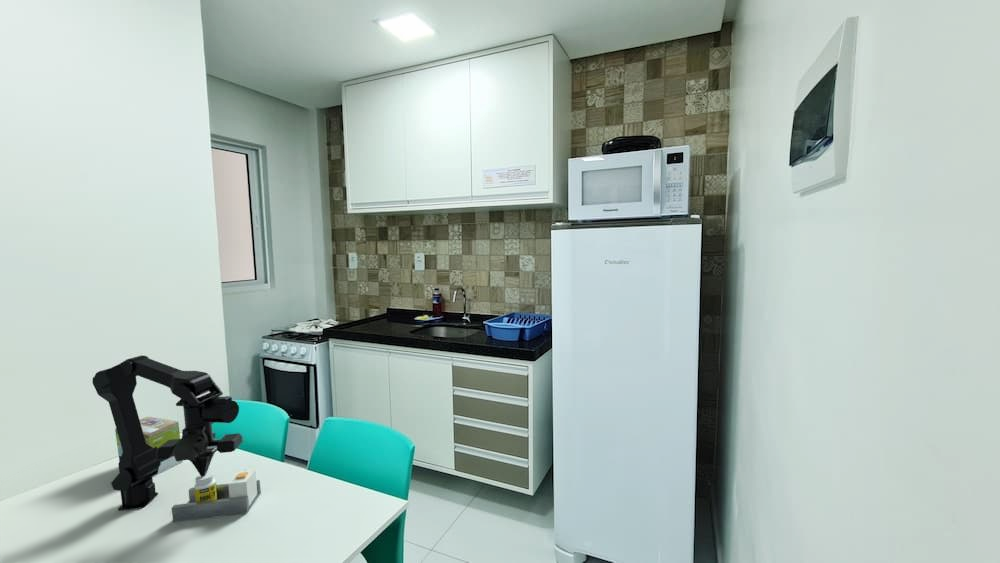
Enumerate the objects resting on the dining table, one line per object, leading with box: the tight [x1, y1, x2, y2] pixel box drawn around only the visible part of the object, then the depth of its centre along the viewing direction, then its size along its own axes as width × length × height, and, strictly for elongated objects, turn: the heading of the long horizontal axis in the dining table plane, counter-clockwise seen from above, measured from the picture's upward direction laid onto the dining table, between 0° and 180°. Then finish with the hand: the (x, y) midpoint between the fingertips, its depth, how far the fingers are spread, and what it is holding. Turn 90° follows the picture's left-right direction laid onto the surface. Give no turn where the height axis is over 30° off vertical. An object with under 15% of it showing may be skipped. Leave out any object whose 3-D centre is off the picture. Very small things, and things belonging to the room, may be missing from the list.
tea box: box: [115, 416, 184, 478], centre depth 135 cm, size 15×10×15 cm, turn 73°
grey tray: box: [171, 479, 262, 523], centre depth 113 cm, size 18×9×4 cm, turn 100°
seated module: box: [227, 469, 258, 505], centre depth 114 cm, size 4×6×8 cm
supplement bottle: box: [193, 471, 217, 502], centre depth 113 cm, size 5×5×8 cm
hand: (203, 475), depth 112 cm, fingers closed
